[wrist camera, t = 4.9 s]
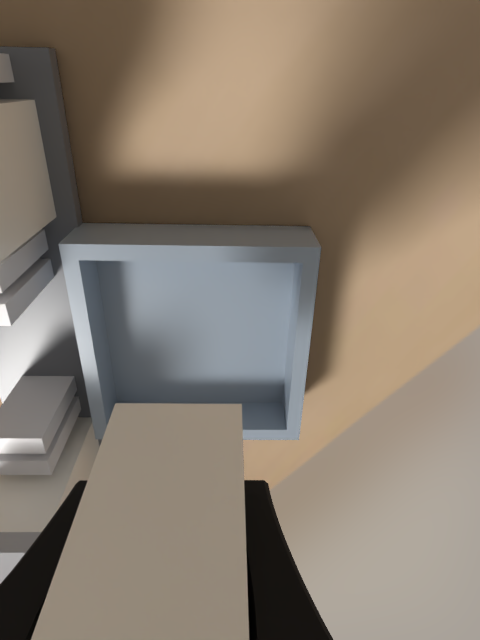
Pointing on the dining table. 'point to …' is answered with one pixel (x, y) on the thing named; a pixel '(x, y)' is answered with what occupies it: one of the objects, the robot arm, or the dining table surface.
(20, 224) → the block
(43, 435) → the board
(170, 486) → the block
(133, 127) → the dining table surface
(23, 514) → the block
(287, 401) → the tray
